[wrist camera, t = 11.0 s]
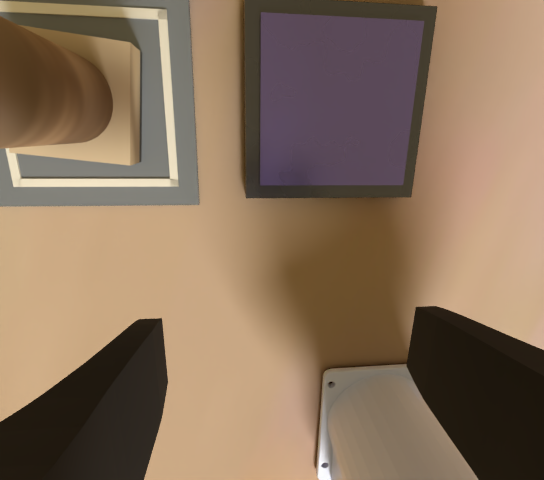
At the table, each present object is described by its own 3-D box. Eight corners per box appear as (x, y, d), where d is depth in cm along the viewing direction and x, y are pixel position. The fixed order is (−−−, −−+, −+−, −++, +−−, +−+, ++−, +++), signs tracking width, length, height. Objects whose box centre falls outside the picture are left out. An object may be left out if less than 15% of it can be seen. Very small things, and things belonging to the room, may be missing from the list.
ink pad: (402, 193, 20) (413, 198, 18) (245, 194, 19) (246, 199, 17) (425, 13, 17) (441, 4, 16) (243, 3, 16) (244, -8, 15)
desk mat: (199, 204, 19) (199, 205, 18) (0, 205, 17) (-4, 206, 17) (188, -13, 16) (187, -16, 15) (-53, -28, 14) (-59, -31, 14)
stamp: (141, 161, 17) (70, 184, 10) (34, 150, 17) (-130, 165, 9) (142, 53, 16) (60, -19, 8) (25, 35, 15) (-180, -61, 8)
